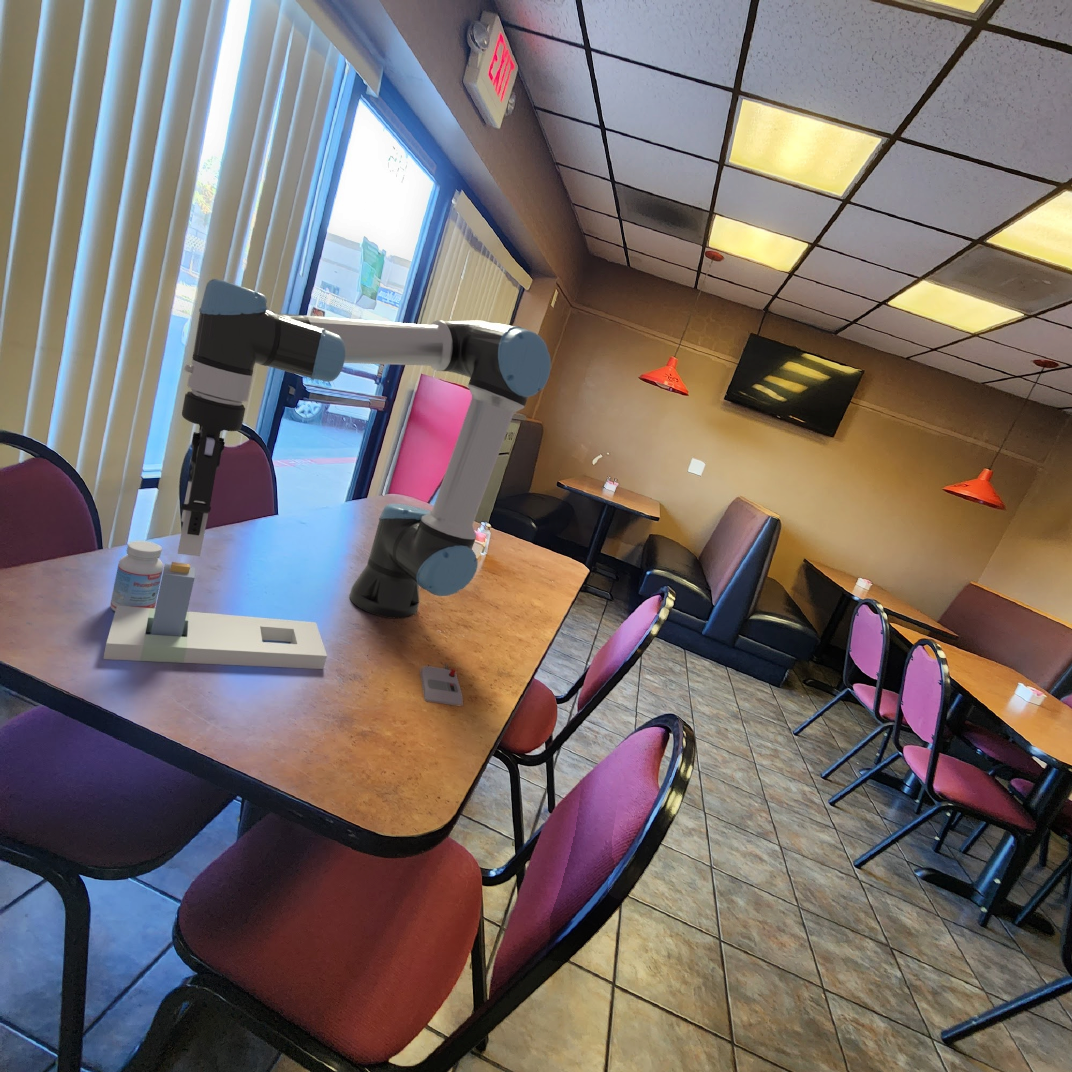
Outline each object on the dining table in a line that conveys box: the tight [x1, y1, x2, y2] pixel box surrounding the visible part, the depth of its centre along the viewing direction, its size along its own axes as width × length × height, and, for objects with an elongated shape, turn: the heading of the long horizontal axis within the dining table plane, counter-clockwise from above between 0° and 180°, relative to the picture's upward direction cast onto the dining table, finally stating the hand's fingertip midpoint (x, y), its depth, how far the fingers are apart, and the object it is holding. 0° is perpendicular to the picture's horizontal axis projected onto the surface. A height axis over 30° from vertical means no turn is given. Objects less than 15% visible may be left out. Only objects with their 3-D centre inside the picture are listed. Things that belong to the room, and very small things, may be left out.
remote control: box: [419, 662, 464, 707], centre depth 105 cm, size 7×16×3 cm, turn 16°
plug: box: [149, 561, 196, 637], centre depth 89 cm, size 4×4×13 cm
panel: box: [103, 605, 328, 670], centre depth 94 cm, size 30×12×2 cm, turn 119°
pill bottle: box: [109, 540, 164, 612], centre depth 94 cm, size 6×6×11 cm
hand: (189, 537), depth 87 cm, fingers open, 13 cm apart
